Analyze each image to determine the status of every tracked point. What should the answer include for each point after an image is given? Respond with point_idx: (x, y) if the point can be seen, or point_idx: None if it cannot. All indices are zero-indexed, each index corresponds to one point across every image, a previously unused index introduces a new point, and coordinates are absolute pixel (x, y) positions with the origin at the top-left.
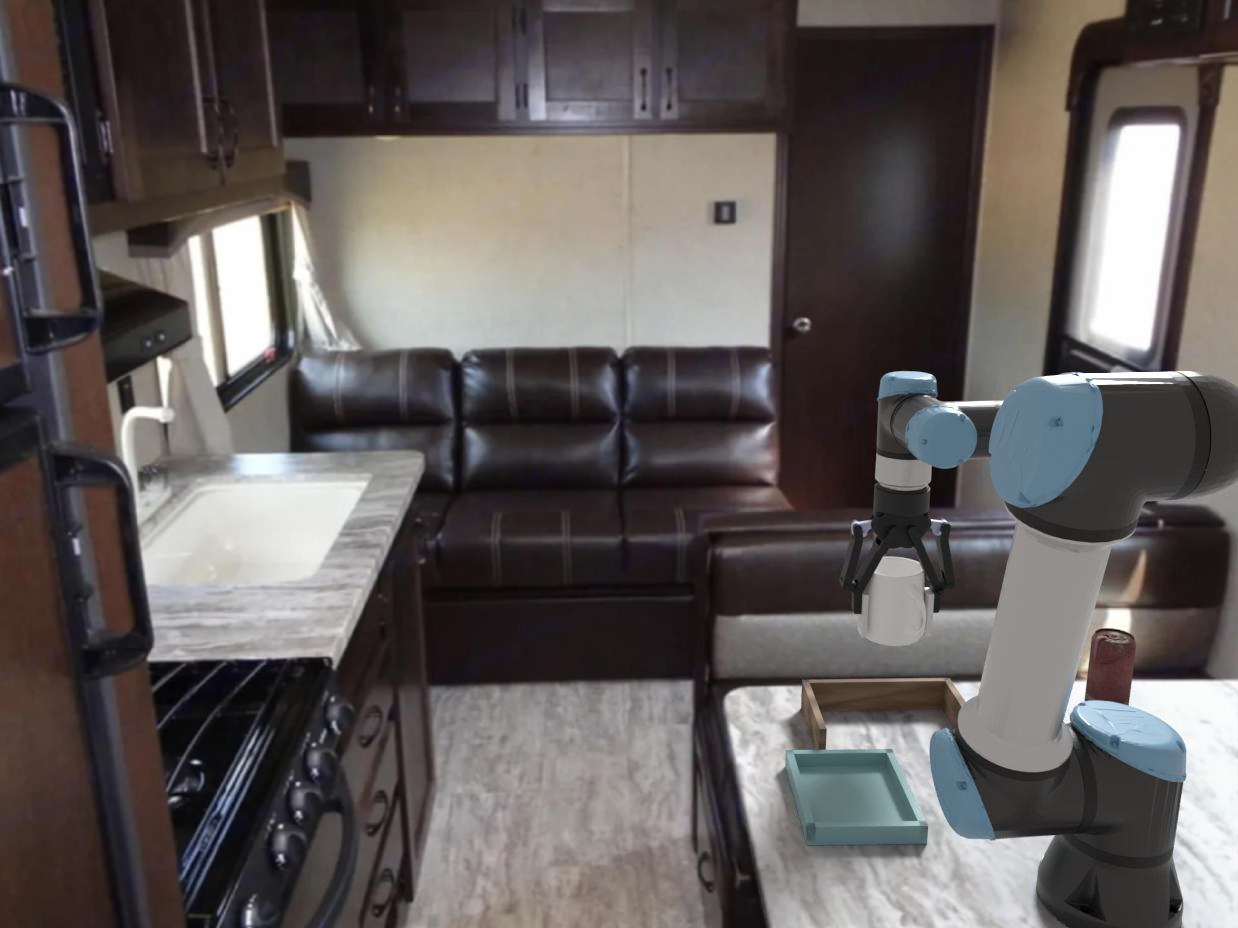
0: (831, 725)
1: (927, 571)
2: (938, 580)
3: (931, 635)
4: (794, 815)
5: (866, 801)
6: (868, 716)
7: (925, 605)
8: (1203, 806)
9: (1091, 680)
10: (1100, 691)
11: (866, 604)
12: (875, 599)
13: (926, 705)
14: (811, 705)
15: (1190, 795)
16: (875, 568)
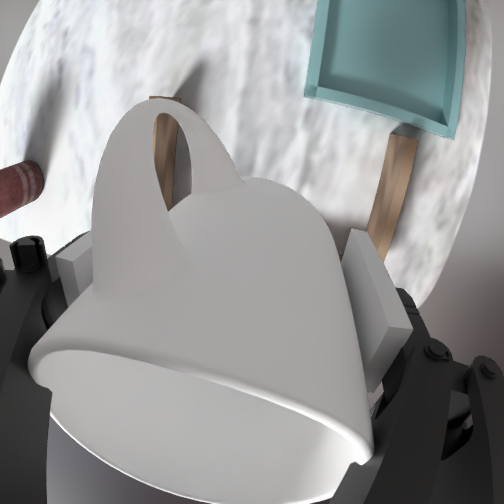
0: (343, 218)
1: (5, 347)
2: (2, 291)
3: None
4: None
5: (374, 22)
6: None
7: None
8: (31, 32)
9: (9, 190)
10: (10, 176)
11: (386, 295)
12: (348, 306)
13: None
14: (398, 215)
15: (29, 47)
16: (379, 480)
